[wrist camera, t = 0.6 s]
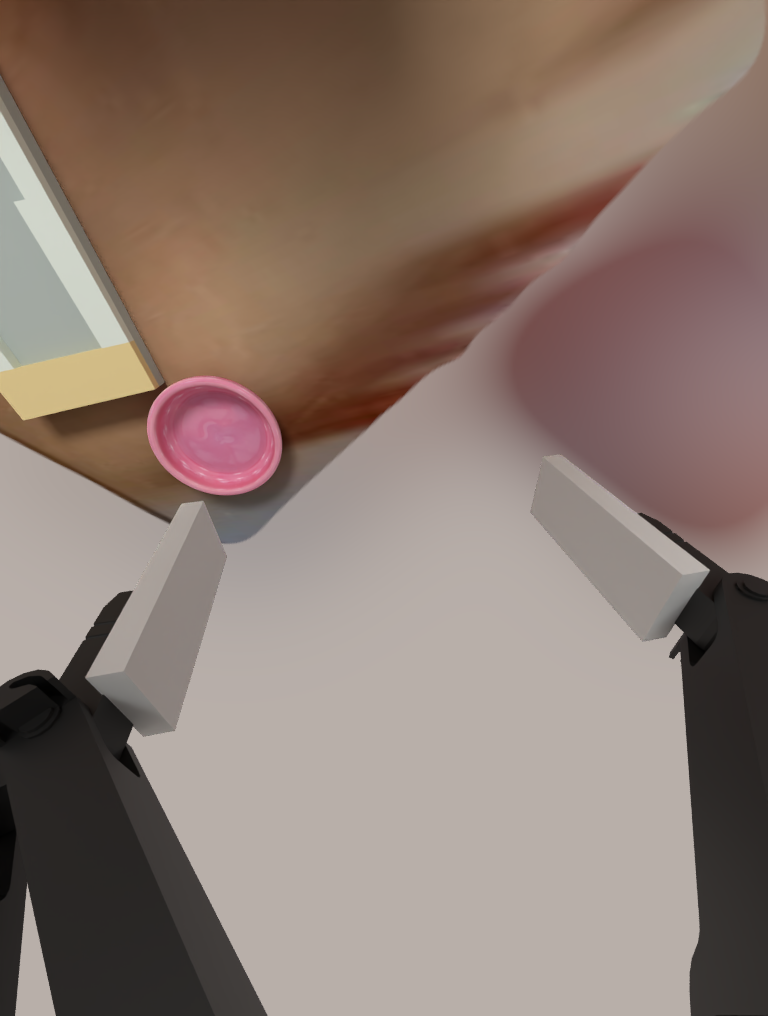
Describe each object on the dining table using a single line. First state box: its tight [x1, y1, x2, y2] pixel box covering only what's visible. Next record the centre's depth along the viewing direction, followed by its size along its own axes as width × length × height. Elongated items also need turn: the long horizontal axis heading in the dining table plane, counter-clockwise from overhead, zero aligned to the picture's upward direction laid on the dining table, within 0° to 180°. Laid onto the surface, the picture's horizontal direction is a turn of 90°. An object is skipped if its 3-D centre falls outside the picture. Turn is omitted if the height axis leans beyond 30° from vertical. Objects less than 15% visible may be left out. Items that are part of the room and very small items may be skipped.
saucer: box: [147, 376, 282, 495], centre depth 37 cm, size 12×12×3 cm
